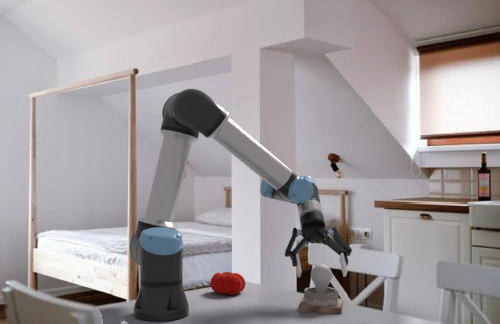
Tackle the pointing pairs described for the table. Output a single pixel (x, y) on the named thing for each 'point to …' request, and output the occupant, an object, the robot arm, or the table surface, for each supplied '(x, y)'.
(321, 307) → the bulb socket
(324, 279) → the lightbulb
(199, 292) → the table surface
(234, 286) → the tomato
